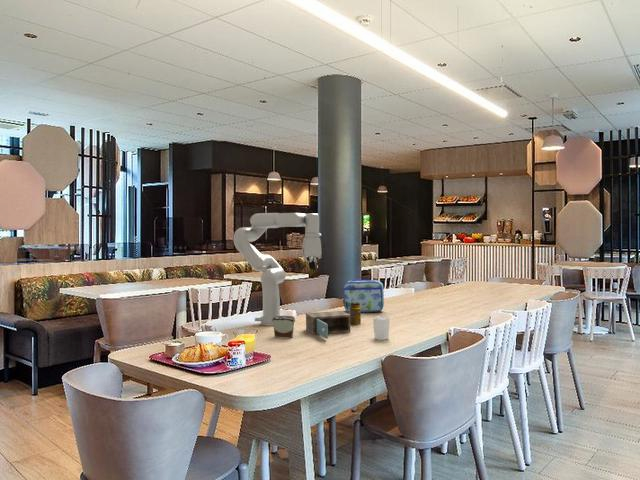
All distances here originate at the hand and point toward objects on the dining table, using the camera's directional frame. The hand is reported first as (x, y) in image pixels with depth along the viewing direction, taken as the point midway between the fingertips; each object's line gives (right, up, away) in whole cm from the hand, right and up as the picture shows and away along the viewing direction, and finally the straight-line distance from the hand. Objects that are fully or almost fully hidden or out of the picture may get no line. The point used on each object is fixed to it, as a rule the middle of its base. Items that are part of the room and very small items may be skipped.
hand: (311, 269), depth 286 cm
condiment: (+24, -32, +7) cm, 40 cm away
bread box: (+9, -32, -12) cm, 35 cm away
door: (+5, -31, -29) cm, 43 cm away
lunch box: (+33, -31, +51) cm, 67 cm away
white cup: (+34, -32, -32) cm, 57 cm away
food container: (-13, -33, -25) cm, 43 cm away
